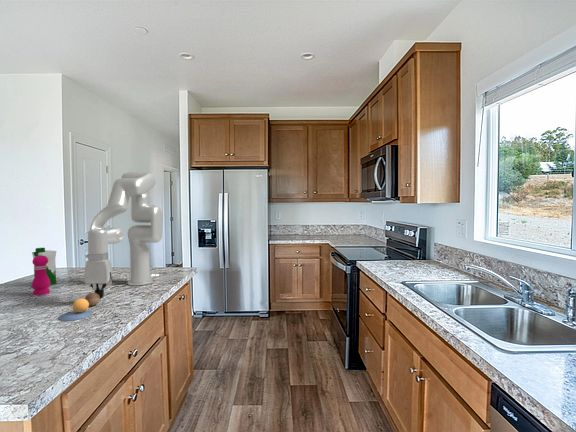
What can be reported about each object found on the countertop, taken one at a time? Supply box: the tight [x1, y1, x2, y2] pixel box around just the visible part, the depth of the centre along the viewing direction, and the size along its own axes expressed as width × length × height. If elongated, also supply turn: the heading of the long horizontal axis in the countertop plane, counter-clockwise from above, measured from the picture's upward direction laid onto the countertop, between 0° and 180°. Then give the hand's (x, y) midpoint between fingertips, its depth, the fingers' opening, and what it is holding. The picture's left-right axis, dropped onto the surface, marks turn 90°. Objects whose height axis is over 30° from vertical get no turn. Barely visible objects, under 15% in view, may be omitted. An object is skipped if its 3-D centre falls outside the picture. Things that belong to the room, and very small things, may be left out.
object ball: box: [72, 298, 90, 313], centre depth 129 cm, size 6×6×6 cm
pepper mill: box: [31, 252, 51, 296], centre depth 156 cm, size 7×7×20 cm
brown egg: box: [84, 292, 101, 307], centre depth 137 cm, size 6×6×6 cm
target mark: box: [57, 310, 93, 322], centre depth 125 cm, size 11×11×1 cm
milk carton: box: [31, 247, 57, 286], centre depth 173 cm, size 9×9×20 cm
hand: (99, 298), depth 143 cm, fingers closed
